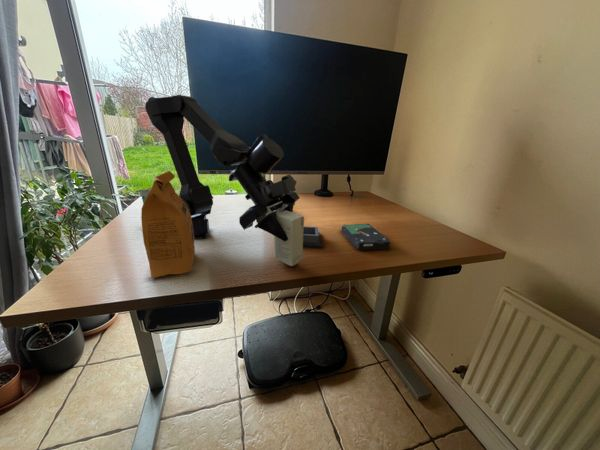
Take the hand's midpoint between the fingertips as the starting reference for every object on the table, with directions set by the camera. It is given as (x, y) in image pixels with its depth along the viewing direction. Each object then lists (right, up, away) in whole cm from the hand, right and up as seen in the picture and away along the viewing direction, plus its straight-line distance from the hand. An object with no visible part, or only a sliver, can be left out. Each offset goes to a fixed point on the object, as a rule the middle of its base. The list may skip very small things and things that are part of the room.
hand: (292, 236), depth 58 cm
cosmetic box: (-1, -6, +3) cm, 7 cm away
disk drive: (+23, -2, +20) cm, 31 cm away
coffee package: (-28, -7, 0) cm, 29 cm away
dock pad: (+3, -2, +18) cm, 18 cm away
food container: (-51, +8, +34) cm, 62 cm away
